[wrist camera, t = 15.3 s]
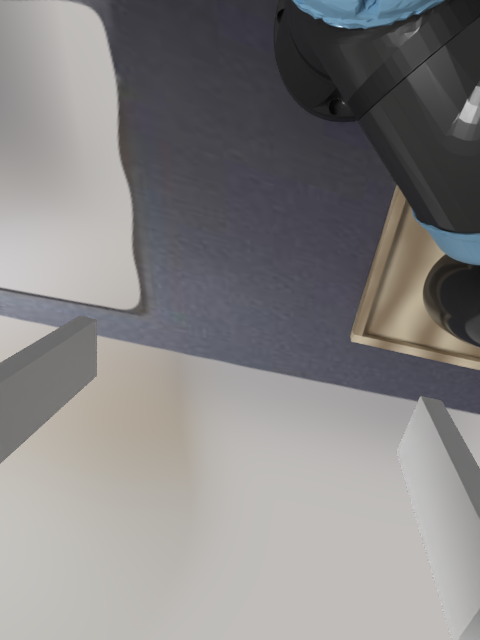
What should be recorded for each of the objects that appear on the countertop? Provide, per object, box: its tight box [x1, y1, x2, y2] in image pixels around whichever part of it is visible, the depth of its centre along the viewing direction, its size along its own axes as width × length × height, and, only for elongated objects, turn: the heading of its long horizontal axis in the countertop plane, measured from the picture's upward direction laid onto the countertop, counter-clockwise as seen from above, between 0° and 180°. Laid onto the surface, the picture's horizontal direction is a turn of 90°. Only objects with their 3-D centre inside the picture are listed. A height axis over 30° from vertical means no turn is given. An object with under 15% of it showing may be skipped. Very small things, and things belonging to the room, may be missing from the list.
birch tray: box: [350, 185, 480, 370], centre depth 41 cm, size 20×20×2 cm
